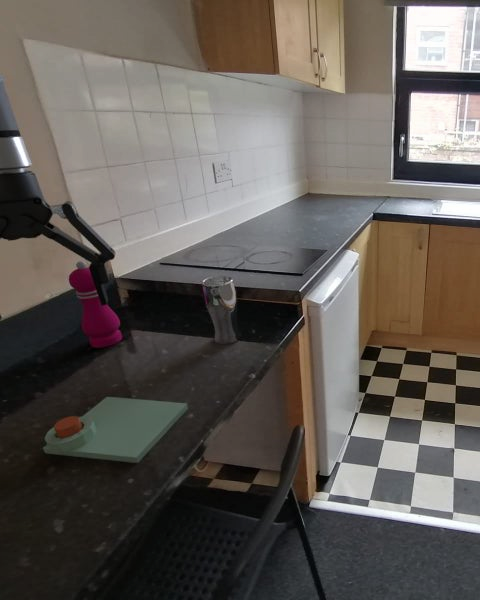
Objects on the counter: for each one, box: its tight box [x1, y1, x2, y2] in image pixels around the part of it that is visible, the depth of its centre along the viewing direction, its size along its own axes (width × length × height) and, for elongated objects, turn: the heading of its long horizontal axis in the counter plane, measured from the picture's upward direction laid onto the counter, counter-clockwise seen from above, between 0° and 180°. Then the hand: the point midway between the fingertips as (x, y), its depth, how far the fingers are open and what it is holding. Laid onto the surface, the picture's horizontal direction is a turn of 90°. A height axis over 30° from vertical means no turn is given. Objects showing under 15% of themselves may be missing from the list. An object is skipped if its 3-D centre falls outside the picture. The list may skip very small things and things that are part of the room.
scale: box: [42, 396, 189, 464], centre depth 68 cm, size 16×14×3 cm
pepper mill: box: [68, 260, 123, 349], centre depth 92 cm, size 7×7×20 cm
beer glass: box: [200, 275, 243, 345], centre depth 94 cm, size 7×7×15 cm
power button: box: [53, 415, 82, 438], centre depth 64 cm, size 3×3×2 cm
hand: (53, 311), depth 63 cm, fingers open, 13 cm apart
